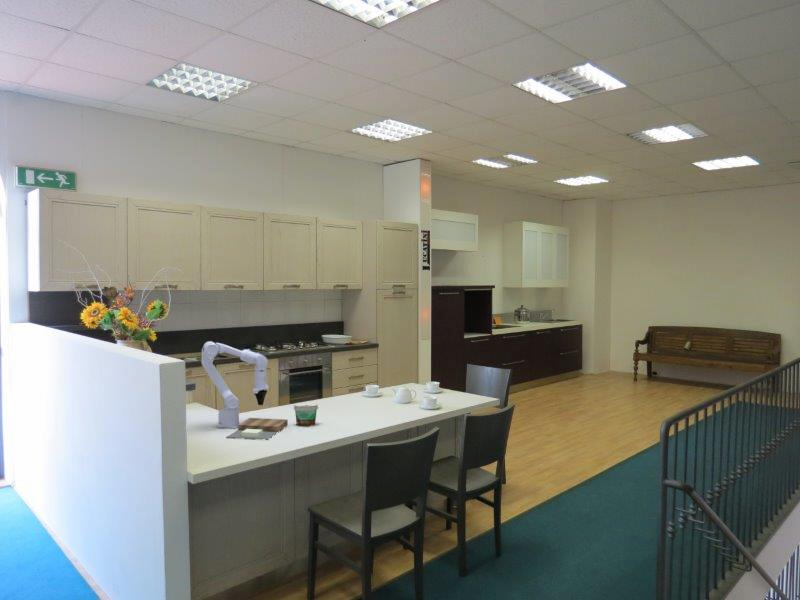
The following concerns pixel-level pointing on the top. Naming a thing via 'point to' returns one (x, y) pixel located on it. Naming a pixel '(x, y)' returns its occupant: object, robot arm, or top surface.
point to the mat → (264, 436)
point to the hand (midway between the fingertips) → (260, 404)
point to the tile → (251, 433)
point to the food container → (305, 415)
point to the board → (263, 424)
